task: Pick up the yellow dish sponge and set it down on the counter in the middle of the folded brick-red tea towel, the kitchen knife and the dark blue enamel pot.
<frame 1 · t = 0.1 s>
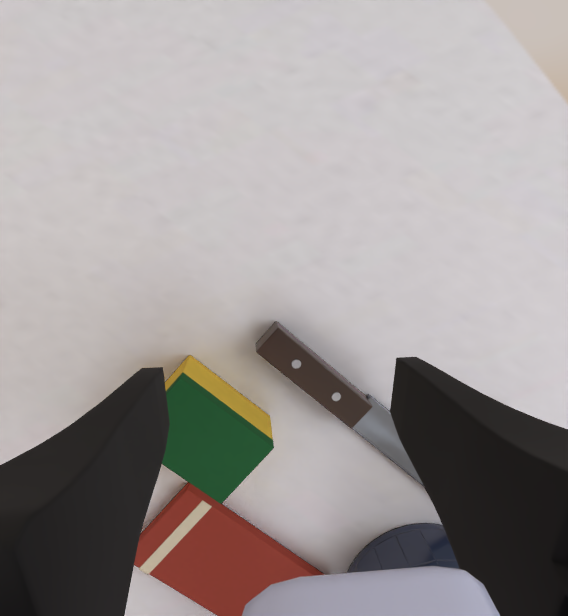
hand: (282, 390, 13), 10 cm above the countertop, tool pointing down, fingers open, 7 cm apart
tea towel: (233, 564, 26), on the countertop
sponge: (207, 411, 24), on the countertop
pot: (414, 585, 28), on the countertop
knife: (395, 438, 25), on the countertop
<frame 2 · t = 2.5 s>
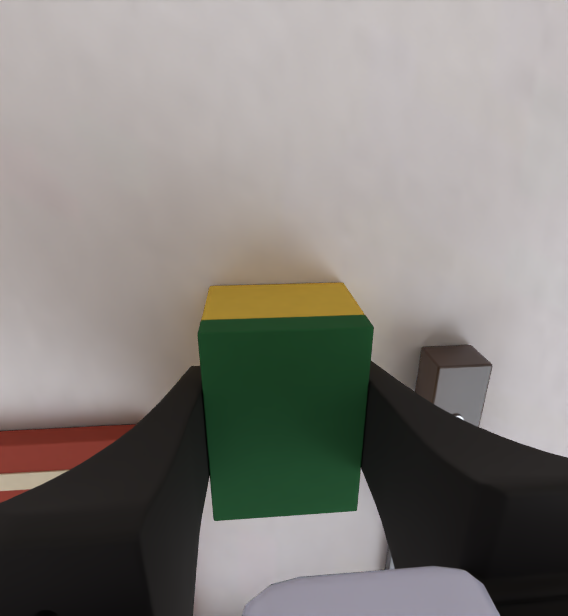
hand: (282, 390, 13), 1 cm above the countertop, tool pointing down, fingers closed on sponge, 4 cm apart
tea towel: (99, 549, 16), on the countertop
sponge: (277, 367, 14), on the countertop, touching gripper
knife: (410, 558, 18), on the countertop
when the fingers open (1 cm above the countertop, at t = 6.7 s): sponge stays where it is, on the countertop.
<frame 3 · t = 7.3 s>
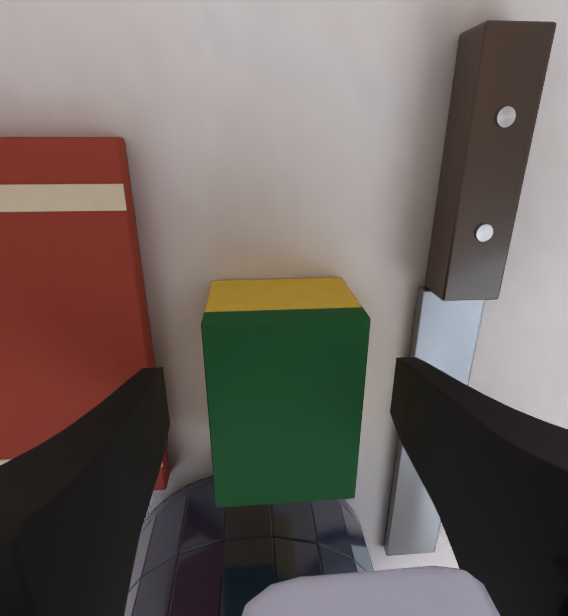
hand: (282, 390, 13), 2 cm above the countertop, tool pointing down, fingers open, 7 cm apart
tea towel: (57, 337, 13), on the countertop
sponge: (277, 360, 14), on the countertop
pot: (251, 558, 18), on the countertop
knife: (435, 373, 15), on the countertop
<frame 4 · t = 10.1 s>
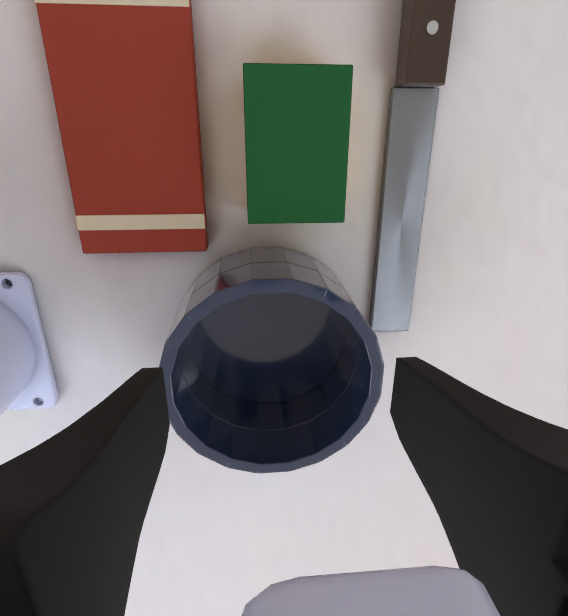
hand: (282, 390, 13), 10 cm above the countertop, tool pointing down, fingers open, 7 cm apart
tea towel: (132, 119, 19), on the countertop
sponge: (289, 147, 20), on the countertop
pot: (267, 332, 23), on the countertop
knife: (405, 165, 21), on the countertop
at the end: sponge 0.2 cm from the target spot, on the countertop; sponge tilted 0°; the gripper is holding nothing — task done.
